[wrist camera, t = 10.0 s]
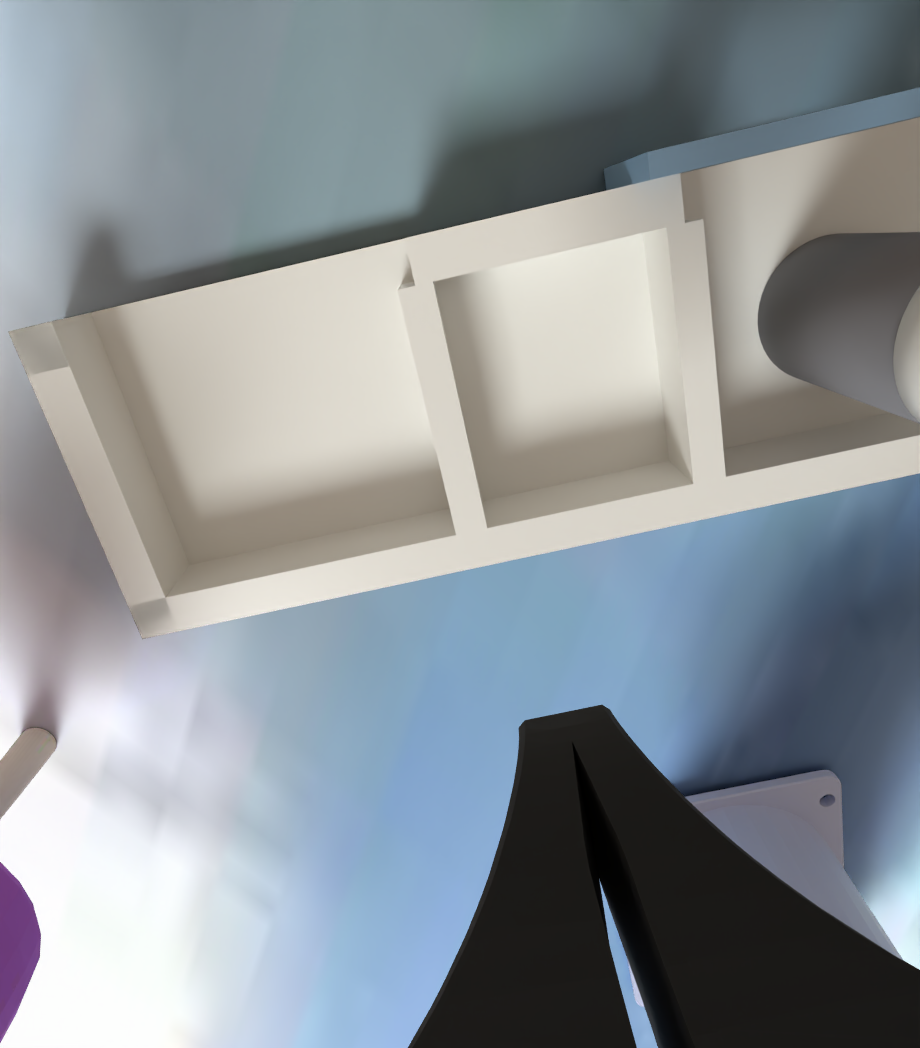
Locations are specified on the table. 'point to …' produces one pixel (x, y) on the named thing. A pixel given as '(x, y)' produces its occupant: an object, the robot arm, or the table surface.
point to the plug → (849, 318)
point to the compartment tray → (478, 382)
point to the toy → (3, 905)
